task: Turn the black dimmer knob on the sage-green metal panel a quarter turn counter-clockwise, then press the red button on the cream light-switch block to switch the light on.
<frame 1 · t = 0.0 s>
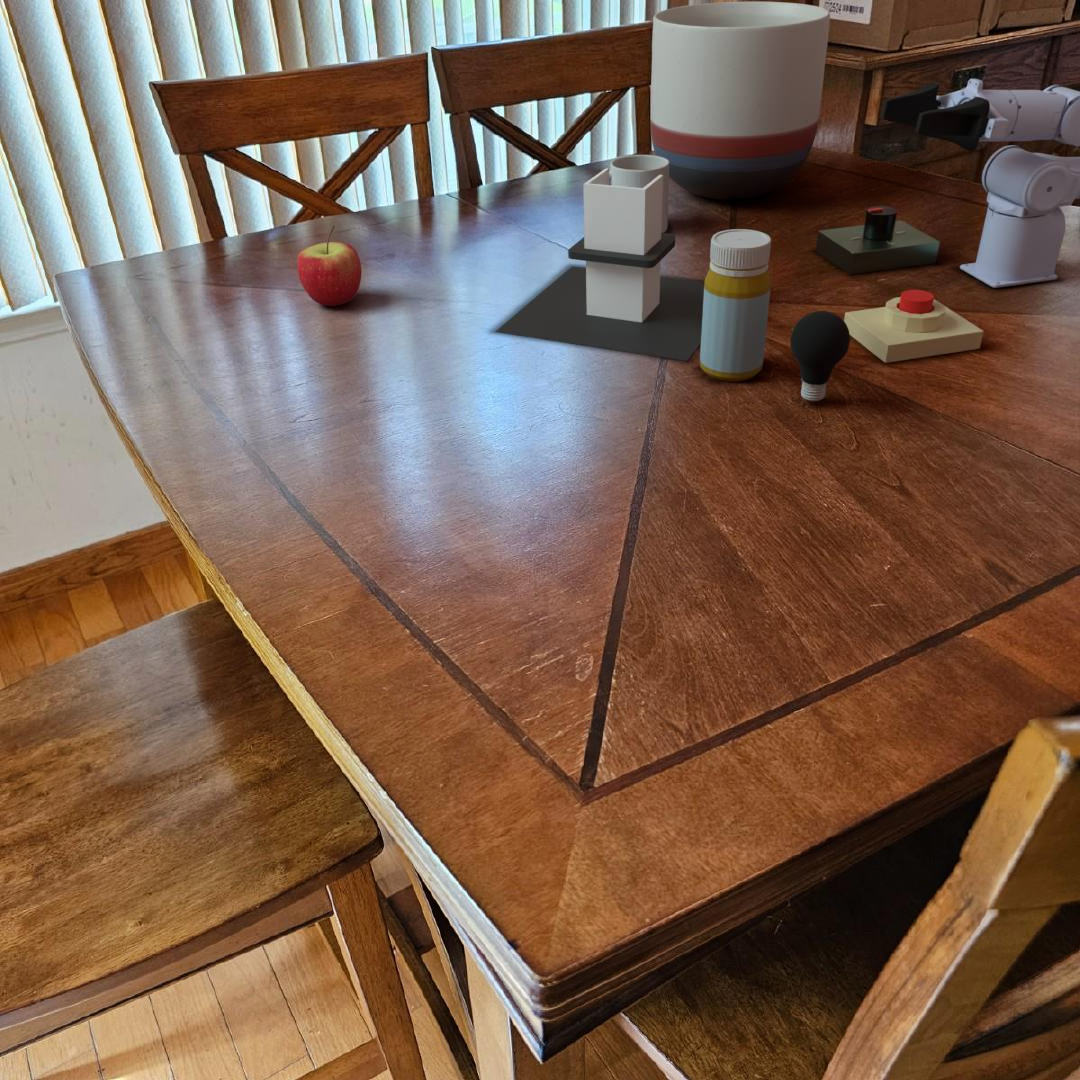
hand: (900, 116, 116), 22 cm above the table, tool horizontal, fingers open, 7 cm apart
apple: (335, 303, 133), on the table
light bulb: (811, 403, 105), on the table
planter: (728, 194, 167), on the table
mug: (632, 229, 153), on the table
bottle: (730, 371, 112), on the table
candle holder: (623, 310, 128), on the table
switch block: (909, 338, 116), on the table
dimmer panel: (874, 257, 139), on the table
dimmer knob: (880, 222, 136), point 5 cm above the table, hinge at 0.0°
switch button: (916, 302, 114), point 4 cm above the table, slide at 0.1 cm
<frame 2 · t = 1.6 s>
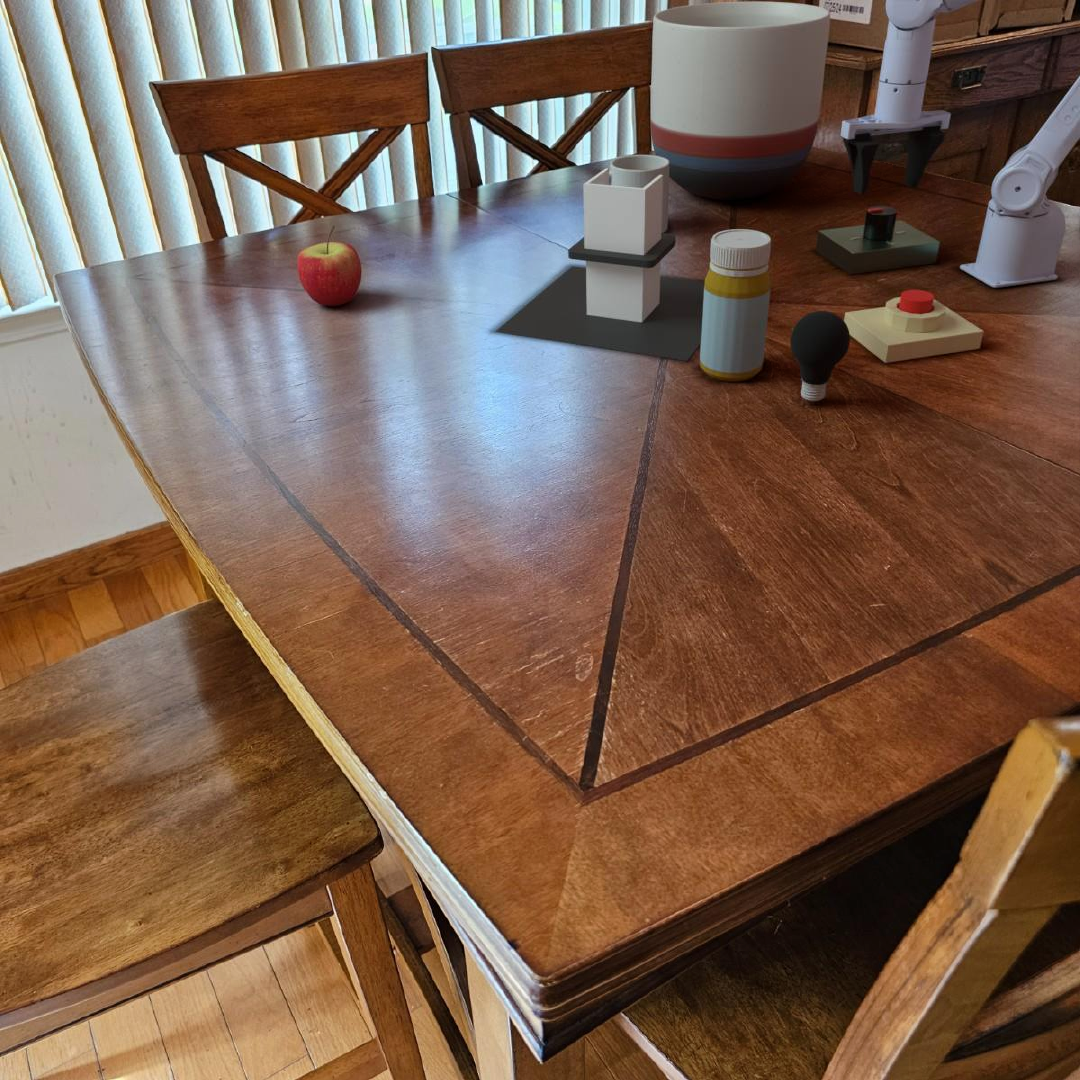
hand: (885, 189, 133), 9 cm above the table, tool pointing down, fingers open, 7 cm apart
nothing on the table moved.
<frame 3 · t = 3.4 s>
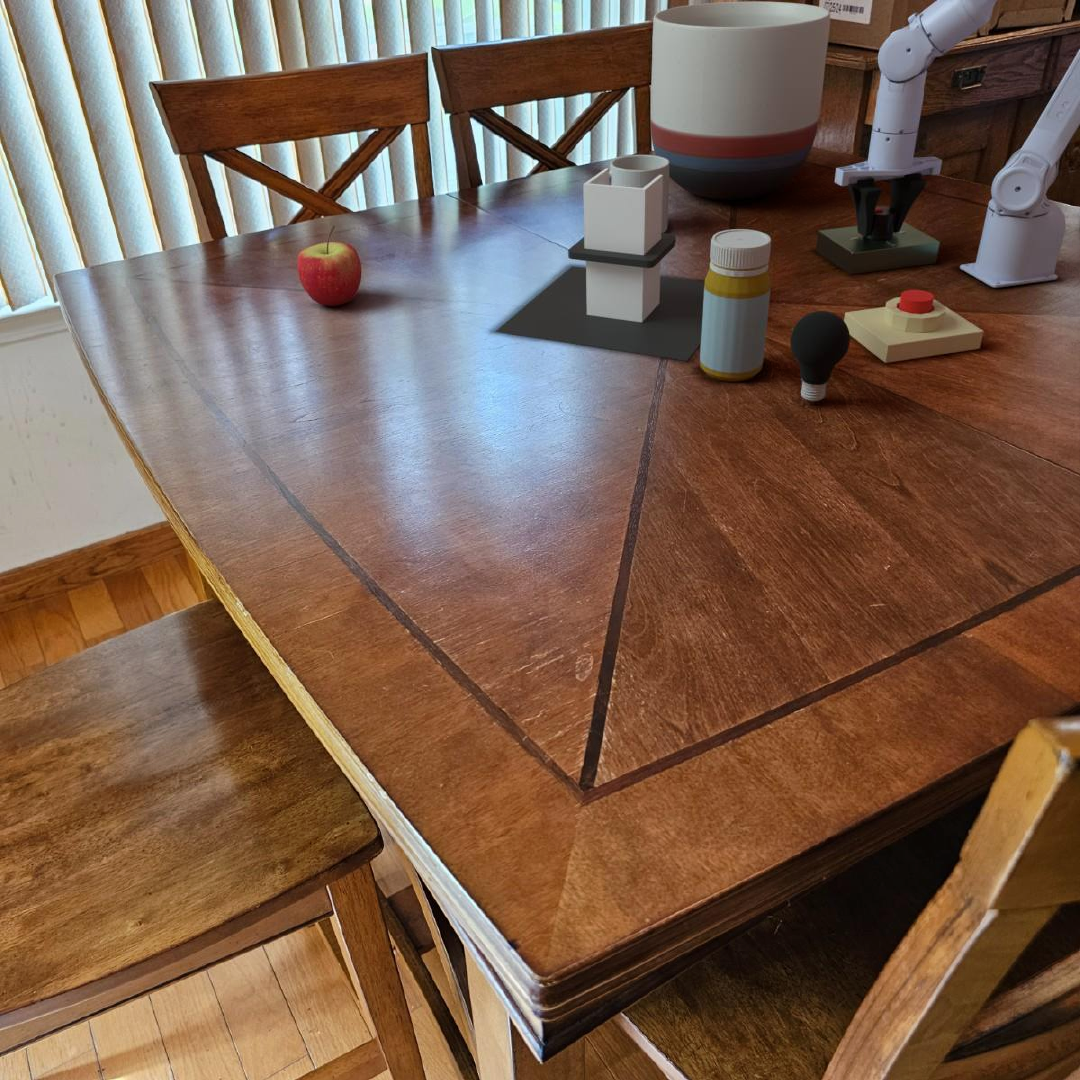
hand: (878, 232, 137), 4 cm above the table, tool pointing down, fingers closed on dimmer knob, 4 cm apart
dimmer knob: (880, 222, 136), point 5 cm above the table, hinge at -0.1°, touching gripper
everything else where it was.
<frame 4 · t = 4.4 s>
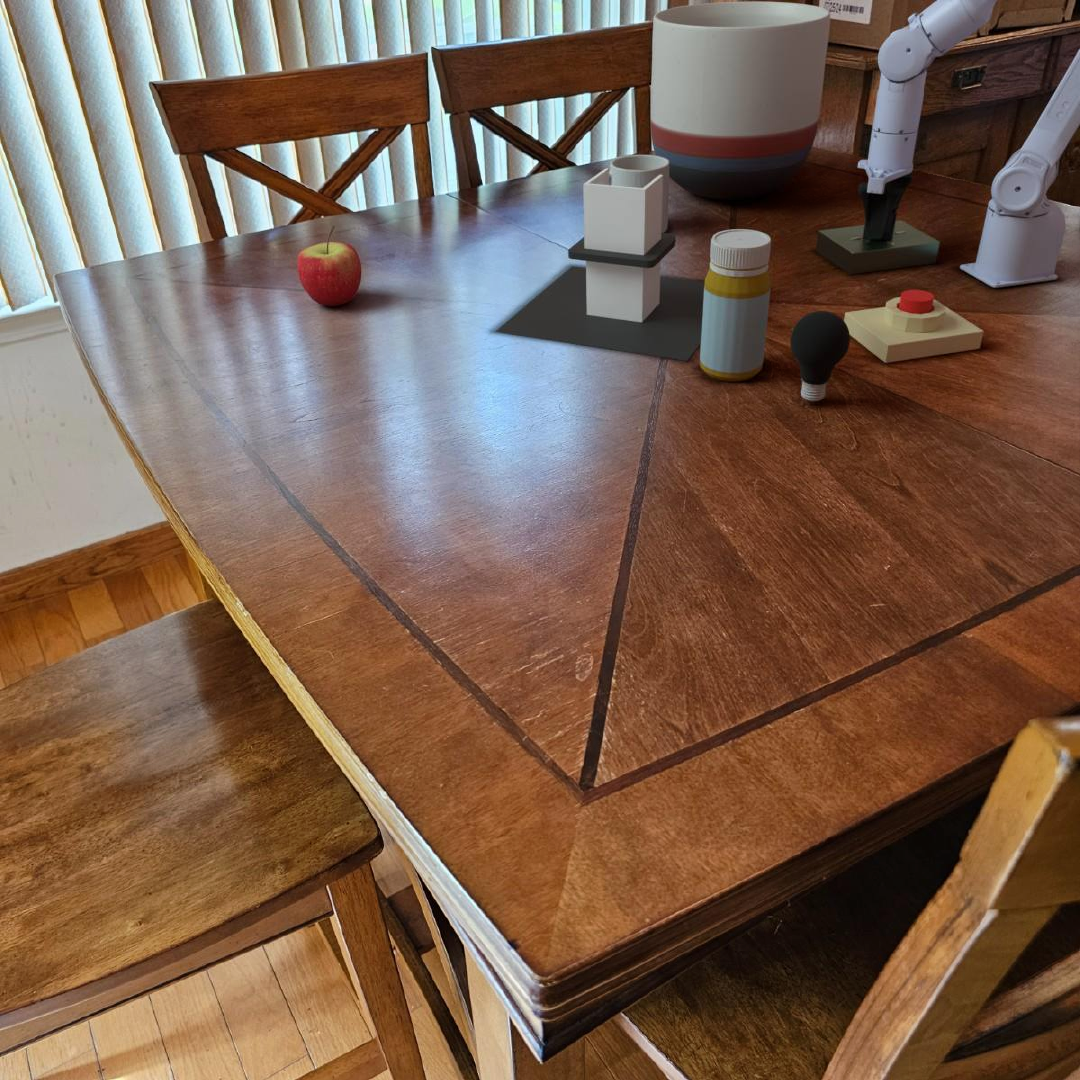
hand: (878, 232, 137), 4 cm above the table, tool pointing down, fingers closed on dimmer knob, 4 cm apart
dimmer knob: (880, 222, 136), point 5 cm above the table, hinge at 46.3°, touching gripper
everything else where it was.
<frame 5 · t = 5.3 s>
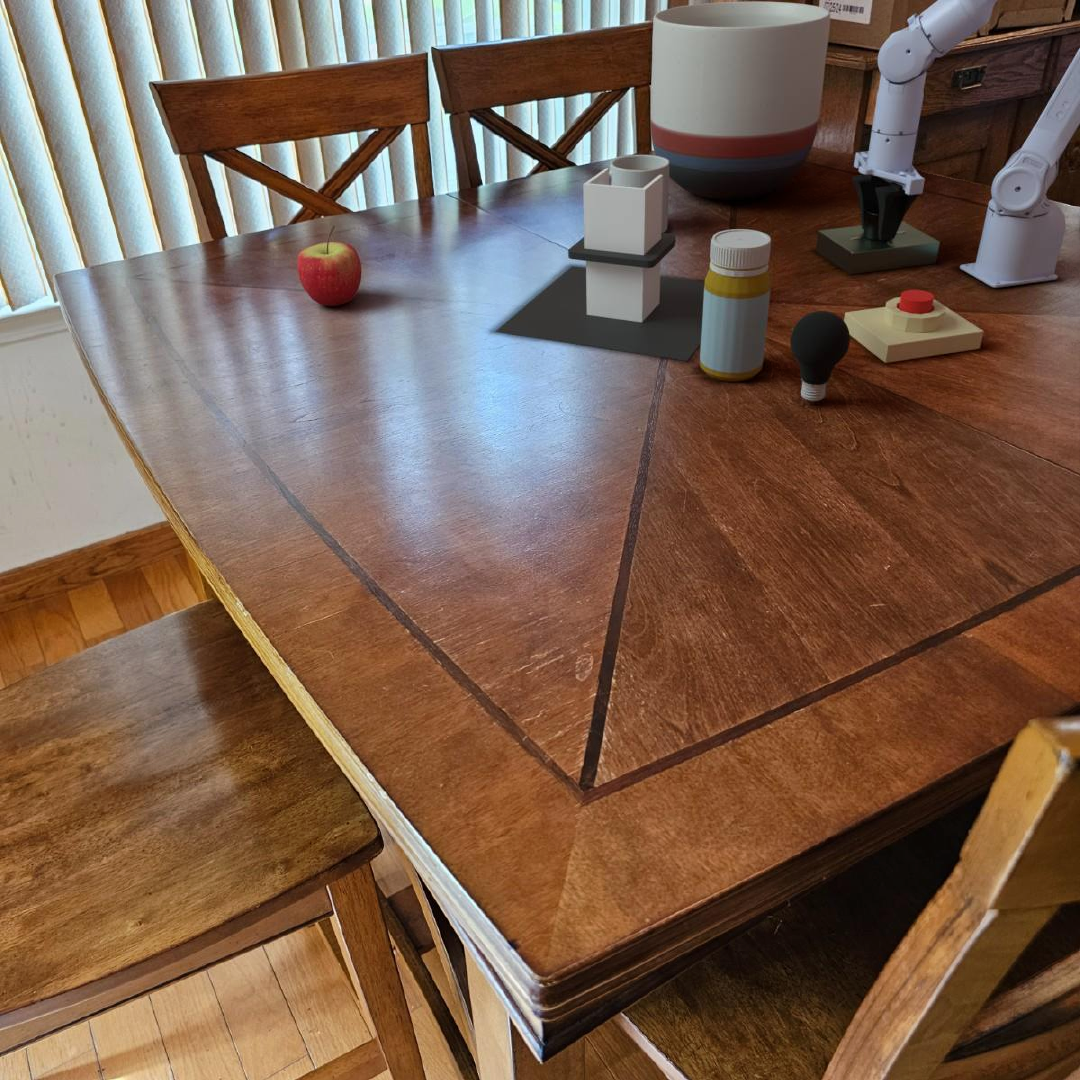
hand: (877, 233, 137), 3 cm above the table, tool pointing down, fingers closed on dimmer knob, 4 cm apart
dimmer knob: (880, 222, 136), point 5 cm above the table, hinge at 89.6°, touching gripper
everything else where it was.
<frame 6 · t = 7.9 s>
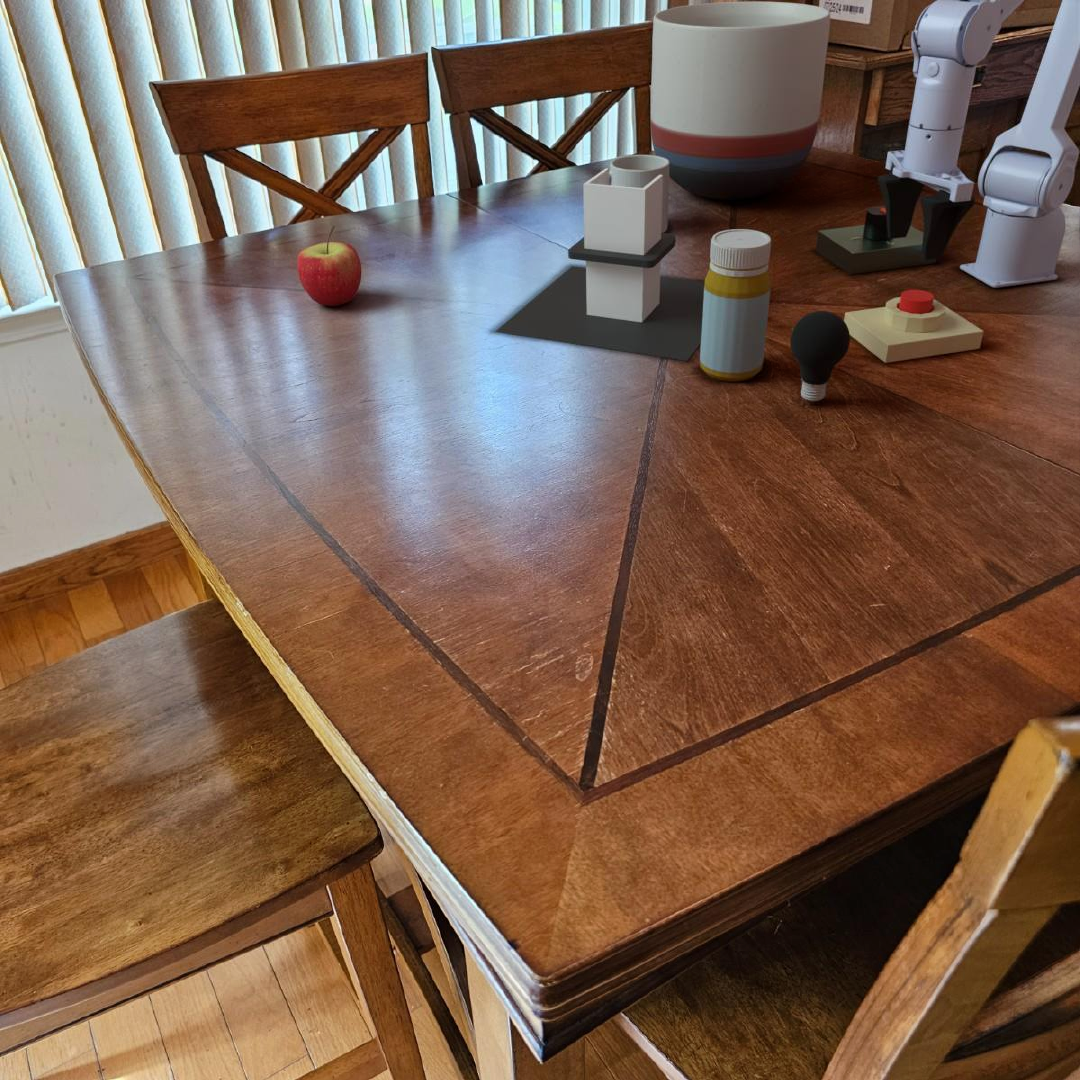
hand: (913, 247, 116), 9 cm above the table, tool pointing down, fingers open, 7 cm apart
dimmer knob: (880, 222, 136), point 5 cm above the table, hinge at 90.1°
everything else where it was.
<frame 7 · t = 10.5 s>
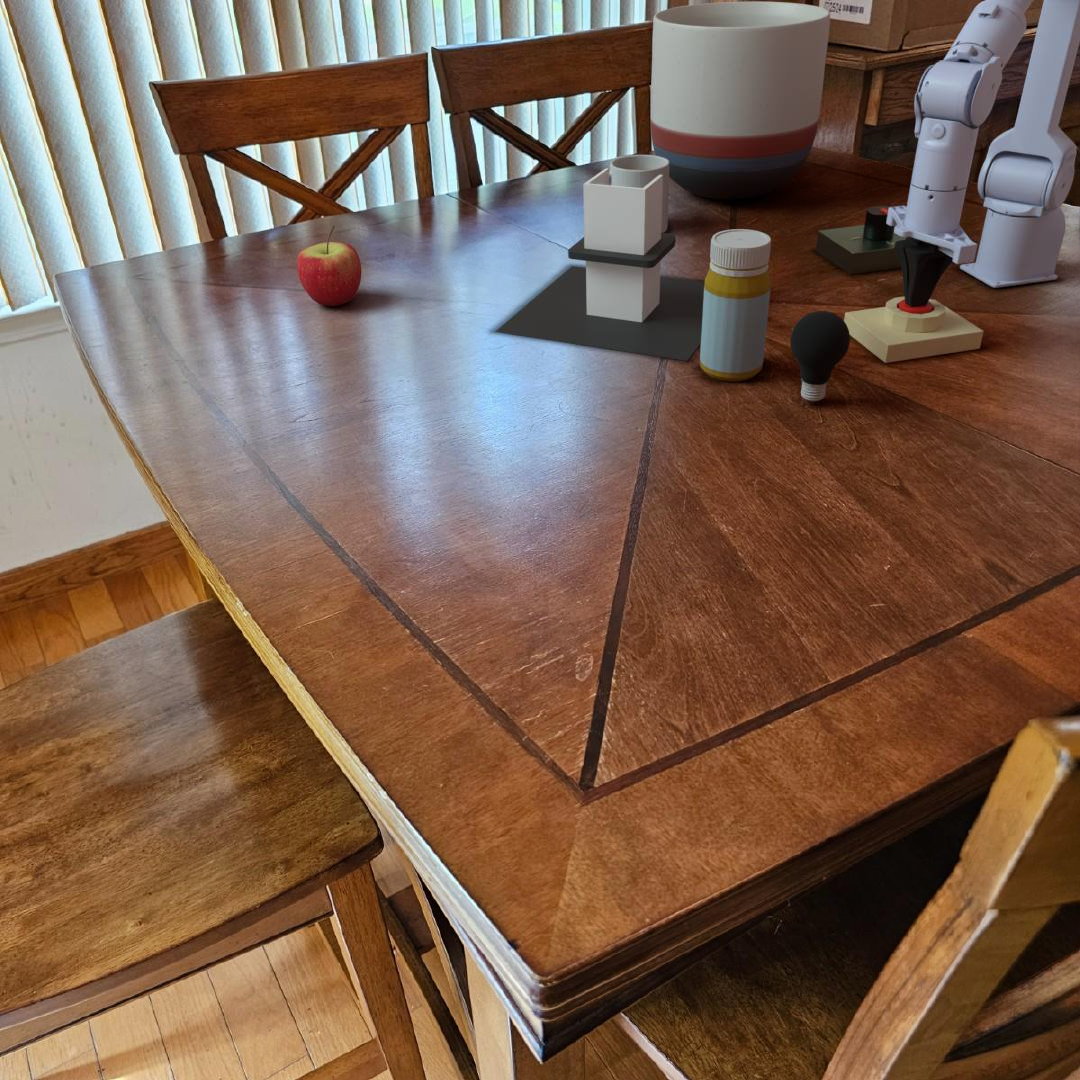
hand: (915, 304, 114), 4 cm above the table, tool pointing down, fingers closed, pressing on switch button
switch button: (914, 311, 114), point 3 cm above the table, slide at -0.9 cm, touching gripper
everything else where it was.
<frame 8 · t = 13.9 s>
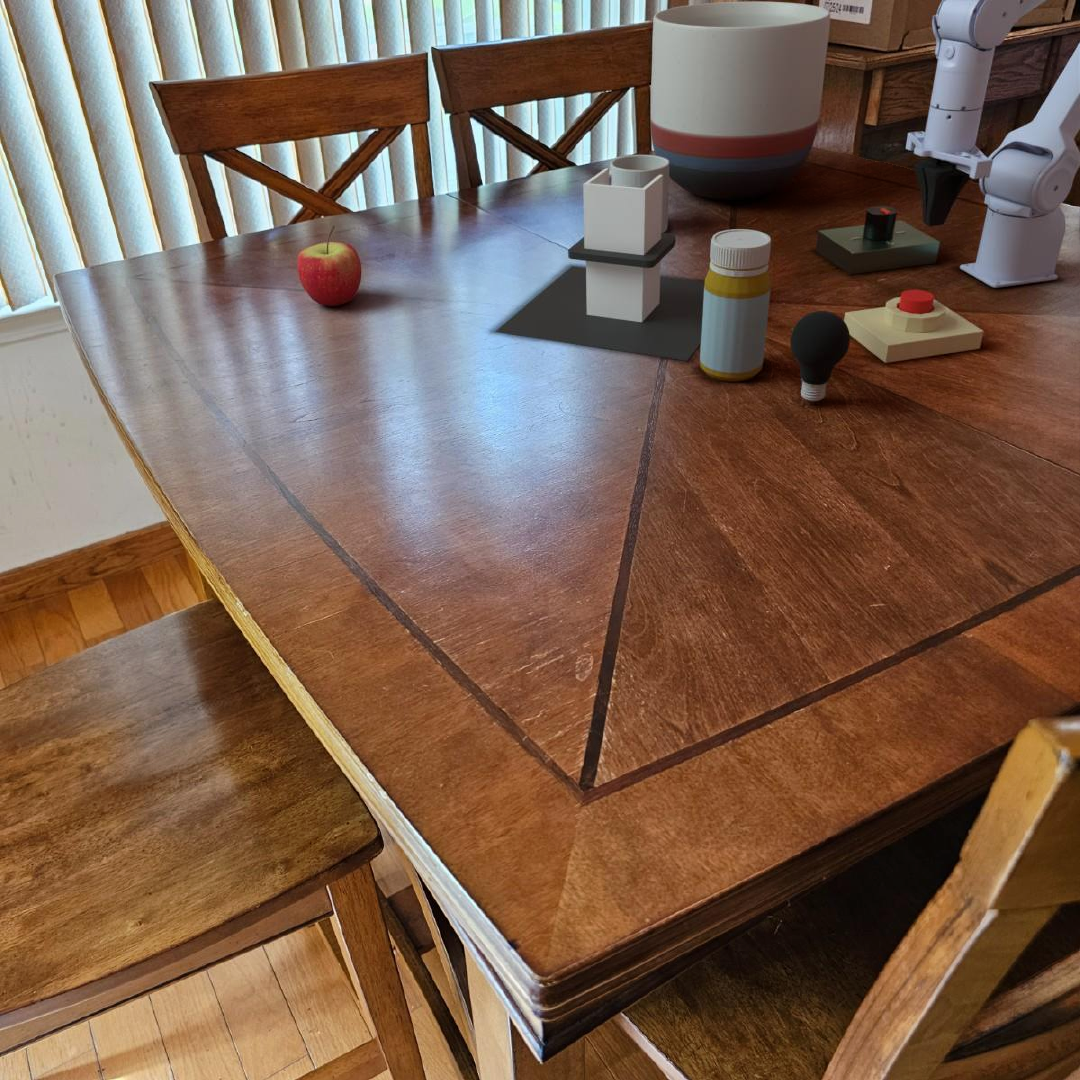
hand: (933, 223, 121), 9 cm above the table, tool pointing down, fingers closed
switch button: (916, 302, 114), point 4 cm above the table, slide at 0.1 cm
everything else where it was.
at the end: dimmer knob at +90° (first picture: +0°); switch button pushed in 1.2 cm at the most during the clip, back to where it started at the end; switch button slide at 0.1 cm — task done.
